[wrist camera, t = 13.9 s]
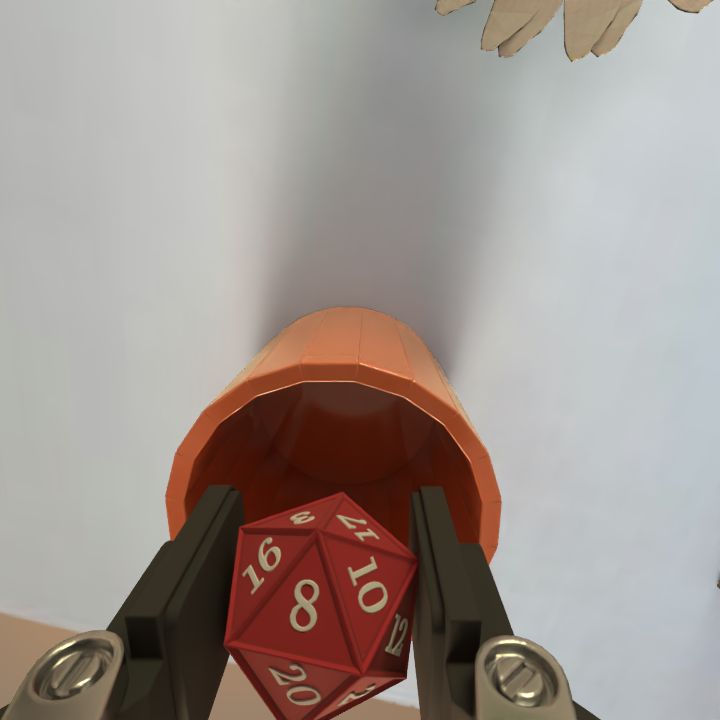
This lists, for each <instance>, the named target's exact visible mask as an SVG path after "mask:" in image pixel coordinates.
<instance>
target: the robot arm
mask: <svg viewBox="0 0 720 720" xmlns="http://www.w3.org/2000/svg"><path fill="white" fill-rule="evenodd" d="M243 525H245V516H244V504H243V494H242V492H241V491H235V487H234V486H233V485H209V487H208V488H207V489H206V491H205V492H204V494H203V495H202V497H201V499H200V500H199V502H198V503H197V505H196V506H195V508H194V509H193V511H192V512H191V514H190V516H189V517H188V519H187V520H186V522H185V523H184V525H183V526H182V528H181V530H180V531H179V533H178V534H177V536H176V537H175V539H174V540H173V541H167V542H165V543H164V545H163V546H162V547H161V548H160V550H159V551H158V553H157V554H156V556H155V557H154V559H153V560H152V562H151V563H150V565H149V566H148V568H147V569H146V571H145V572H144V574H143V575H142V577H141V578H140V580H139V581H138V583H137V584H136V586H135V587H134V589H133V590H132V592H131V593H130V595H129V596H128V598H127V599H126V601H125V602H124V604H123V605H122V607H121V608H120V610H119V611H118V613H117V614H116V616H115V617H114V619H113V620H112V622H111V623H110V625H109V626H108V628H107V629H106V630H95V631H89V632H85V633H80V634H77V635H75V636H73V637H71V638H68V639H66V640H64V641H62V642H60V643H59V644H58V645H56V646H54V647H53V648H51V649H50V650H48V651H47V652H46V653H45V654H44V655H43V656H42V657H41V658H40V659H38V660H37V661H36V663H35V664H34V665H33V667H32V668H31V669H30V671H29V672H28V673H27V675H26V677H25V678H24V680H23V682H22V684H21V686H20V687H19V689H18V691H17V692H16V694H15V696H14V698H13V699H12V701H11V703H10V704H8V705H7V706H5V707H3V708H1V709H0V720H208V718H209V715H210V712H211V709H212V706H213V703H214V700H215V697H216V694H217V691H218V688H219V685H220V682H221V679H222V676H223V673H224V670H225V667H226V664H227V661H228V658H229V655H230V653H229V651H228V650H227V649H226V648H225V647H224V644H223V643H224V638H225V632H226V624H227V616H228V609H229V601H230V593H231V586H232V578H233V570H234V563H235V555H236V547H237V540H238V532H239V527H240V526H243ZM409 550H410V551H411V552H412V553H413V554H414V555H416V556H417V557H418V588H417V596H416V604H415V612H414V620H413V628H412V641H413V650H414V659H415V668H416V678H417V687H418V696H419V705H420V715H421V720H600V719H599V718H597V717H596V716H595V715H593V714H592V713H590V712H589V711H587V710H586V709H585V708H583V707H582V706H580V705H579V704H577V703H576V702H575V701H573V700H572V695H571V691H570V687H569V683H568V680H567V678H566V675H565V673H564V670H563V668H562V667H561V666H560V664H559V663H558V662H557V660H556V659H555V658H554V656H552V655H551V654H550V653H549V652H548V651H546V650H545V649H544V648H543V647H542V646H540V645H538V644H536V643H534V642H532V641H530V640H528V639H525V638H521V637H518V636H514V634H513V631H512V628H511V625H510V623H509V620H508V617H507V614H506V612H505V609H504V606H503V603H502V601H501V598H500V595H499V592H498V590H497V587H496V584H495V581H494V579H493V576H492V573H491V571H490V568H489V565H488V562H487V560H486V557H485V554H484V551H483V549H482V547H481V545H480V544H479V543H459V542H458V538H457V535H456V531H455V528H454V525H453V521H452V518H451V514H450V511H449V508H448V504H447V501H446V497H445V494H444V491H443V488H442V487H441V486H419V490H418V492H411V494H410V521H409Z"/></svg>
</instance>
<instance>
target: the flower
mask: <svg viewBox="0 0 720 720" xmlns="http://www.w3.org/2000/svg"><path fill="white" fill-rule="evenodd" d="M475 1H477V0H438V1H437V4H436V7H435V10H437V11H438V13H439V14H441V15H443V16H444V15H446V14H449V13H451V12H453V11H455V10H457V9H459V8H461V7H464V6H466V5H469V4H472V3H474V2H475ZM642 1H643V0H564V47H565V51H566V54H567V56H568V57H569V59H570V61H571V62H572V61H574V60H576V59H578V60H579V59H581V58H583V57H584V56H586V55H588V54H589V52H590V51H591V52H592V53H593V54H594V55H595V56H596V57H599V56H600V55H602V54H606V53H608V52H609V51H611V50H612V49H614V48H615V46H616V45H617V43H618V42H619V40H620V39H621V37H622V35H623V34H624V32H625V30H626V29H627V27H628V26H629V24H630V23H631V22H632V21H633V19H634V18H635V17H636V15H637V14H638V11H639V9H640V6H641V4H642ZM668 1H669V2H670V3H671V4H672V5H673V6H674V7H675V8H677V9H678V10H681V11H684V12H688V13H699V12H700V11H701V10H702V9H703V8H704V7H706V6H708V5H709V4H710V3H711V2H712V1H713V0H668ZM562 2H563V0H495V1H494V4H493V6H492V9H491V12H490V15H489V17H488V20H487V23H486V25H485V28H484V31H483V35H482V39H481V50H484V49H485V50H486V51H493V50H494V49H496V48H497V47H498V52H499V57H502V56H504V57H505V58H506V57H511V56H513V55H514V54H515V53H516V52H518V51H519V50H520V49H521V48H522V47H523V46H524V45H525V44H526V43H527V42H528V41H530V40H531V39H532V38H534V37H535V36H536V35H538V34H539V33H540V32H541V31H542V30H543V29H544V28H545V26H546V25H547V24H548V23H549V22H550V20H551V19H552V18H553V17H554V15H555V13H556V12H557V10H558V8H559V7H560V5H561V3H562Z"/></svg>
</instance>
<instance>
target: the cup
mask: <svg viewBox="0 0 720 720" xmlns="http://www.w3.org/2000/svg"><path fill="white" fill-rule="evenodd" d="M209 485H233V486H234V487H235V491H241V492H242V494H243V504H244V516H245V525H246V524H250V523H253V522H256V521H258V520H261V519H264V518H267V517H270V516H273V515H276V514H279V513H282V512H285V511H288V510H291V509H294V508H296V507H299V506H302V505H305V504H308V503H311V502H314V501H317V500H320V499H323V498H326V497H329V496H331V495H334V494H337V493H340V492H344V493H345V494H346V495H347V496H348V497H349V498H350V499H352V500H353V501H354V502H355V503H356V504H357V505H358V506H360V507H361V508H362V509H363V510H364V511H365V512H366V513H367V514H369V515H370V516H371V517H372V518H373V519H374V520H375V521H377V522H378V523H379V524H380V525H381V526H382V527H383V528H385V529H386V530H387V531H388V532H389V533H390V534H391V535H393V536H394V537H395V538H396V539H397V540H398V541H400V542H401V543H402V544H403V545H404V546H405V547H406V548H408V549H409V521H410V494H411V492H418V490H419V486H441V487H442V488H443V491H444V494H445V497H446V501H447V504H448V508H449V511H450V514H451V518H452V521H453V525H454V528H455V531H456V535H457V538H458V542H459V543H479V544H480V545H481V547H482V549H483V551H484V554H485V557H486V560H487V562H488V565H489V564H490V562H491V560H492V558H493V556H494V553H495V551H496V549H497V546H498V538H499V526H500V515H501V504H502V502H501V495H500V491H499V488H498V484H497V481H496V477H495V474H494V470H493V466H492V463H491V459H490V456H489V454H488V452H487V450H486V448H485V446H484V444H483V442H482V441H481V439H480V437H479V435H478V433H477V432H476V430H475V428H474V426H473V424H472V423H471V421H470V419H469V417H468V415H467V414H466V412H465V410H464V408H463V406H462V405H461V403H460V401H459V399H458V397H457V396H456V394H455V392H454V390H453V389H452V387H451V385H450V383H449V381H448V380H447V378H446V376H445V374H444V372H443V371H442V369H441V367H440V365H439V363H438V362H437V360H436V359H435V357H434V356H433V355H432V353H431V352H430V350H429V349H428V347H427V346H426V344H425V343H424V342H423V341H422V339H421V338H420V337H419V336H418V335H417V334H416V333H414V332H413V331H412V330H411V329H410V328H409V327H407V326H406V325H404V324H403V323H401V322H400V321H398V320H397V319H394V318H392V317H390V316H388V315H386V314H384V313H381V312H378V311H375V310H371V309H366V308H361V307H334V308H329V309H324V310H320V311H317V312H314V313H311V314H308V315H306V316H304V317H302V318H300V319H298V320H296V321H295V322H293V323H292V324H291V325H289V326H288V327H286V328H285V329H284V330H283V331H282V332H280V333H279V334H278V335H276V336H275V337H274V338H273V339H272V340H271V341H270V342H269V343H268V344H267V345H266V346H265V347H264V348H263V349H262V350H261V351H260V353H259V354H258V355H257V356H256V357H255V358H254V359H253V360H252V361H251V362H250V363H249V364H248V365H247V366H246V367H245V368H244V369H243V370H242V371H241V372H240V373H239V374H238V375H237V376H236V377H235V378H234V379H233V381H232V382H231V383H230V384H229V385H228V386H227V387H226V388H225V389H224V390H223V391H222V392H221V393H220V394H219V395H218V396H217V397H216V398H215V399H214V400H213V401H212V402H211V403H210V404H209V405H208V406H207V407H206V409H205V410H204V411H203V412H202V413H201V415H200V416H199V417H198V419H197V420H196V422H195V423H194V425H193V426H192V428H191V429H190V431H189V432H188V434H187V435H186V437H185V438H184V440H183V441H182V443H181V444H180V446H179V447H178V449H177V452H176V453H175V456H174V461H173V465H172V469H171V474H170V478H169V482H168V486H167V491H166V495H165V498H166V499H165V501H166V509H167V517H168V524H169V532H170V540H171V541H173V540H174V539H175V537H176V536H177V534H178V533H179V531H180V530H181V528H182V526H183V525H184V523H185V522H186V520H187V519H188V517H189V516H190V514H191V512H192V511H193V509H194V508H195V506H196V505H197V503H198V502H199V500H200V499H201V497H202V495H203V494H204V492H205V491H206V489H207V488H208V487H209ZM411 641H412V636H411Z"/></svg>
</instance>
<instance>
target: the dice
mask: <svg viewBox="0 0 720 720" xmlns="http://www.w3.org/2000/svg"><path fill="white" fill-rule="evenodd" d="M417 588H418V557H417V556H416V555H414V554H413V553H412V552H411V551H410V550H409V549H408V548H406V547H405V546H404V545H403V544H402V543H401V542H400V541H398V540H397V539H396V538H395V537H394V536H393V535H391V534H390V533H389V532H388V531H387V530H386V529H385V528H383V527H382V526H381V525H380V524H379V523H378V522H377V521H375V520H374V519H373V518H372V517H371V516H370V515H369V514H367V513H366V512H365V511H364V510H363V509H362V508H361V507H360V506H358V505H357V504H356V503H355V502H354V501H353V500H352V499H350V498H349V497H348V496H347V495H346V494H345V493H344V492H340V493H337V494H334V495H331V496H329V497H326V498H323V499H320V500H317V501H314V502H311V503H308V504H305V505H302V506H299V507H296V508H294V509H291V510H288V511H285V512H282V513H279V514H276V515H273V516H270V517H267V518H264V519H261V520H258V521H256V522H253V523H250V524H246V525H243V526H240V527H239V532H238V540H237V547H236V555H235V563H234V570H233V578H232V586H231V593H230V601H229V609H228V616H227V624H226V632H225V638H224V643H223V644H224V647H225V648H226V649H227V650H228V651H229V653H230V654H231V656H232V657H233V659H234V660H235V661H236V663H237V664H238V666H239V667H240V669H241V670H242V671H243V673H244V674H245V676H246V677H247V679H248V680H249V681H250V683H251V684H252V685H253V687H254V688H255V690H256V691H257V693H258V694H259V696H260V697H261V698H262V700H263V701H264V703H265V704H266V706H267V707H268V708H269V710H270V711H271V713H272V714H273V715H274V717H275V718H276V720H330V719H332V718H333V717H335V716H337V715H339V714H341V713H343V712H345V711H347V710H348V709H351V708H352V707H354V706H356V705H358V704H360V703H362V702H363V701H366V700H367V699H369V698H371V697H373V696H375V695H377V694H379V693H381V692H383V691H384V690H386V689H388V688H390V687H392V686H394V685H396V684H398V683H400V682H401V681H403V680H405V679H406V678H407V669H408V661H409V652H410V644H411V636H412V628H413V620H414V612H415V604H416V596H417Z"/></svg>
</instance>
